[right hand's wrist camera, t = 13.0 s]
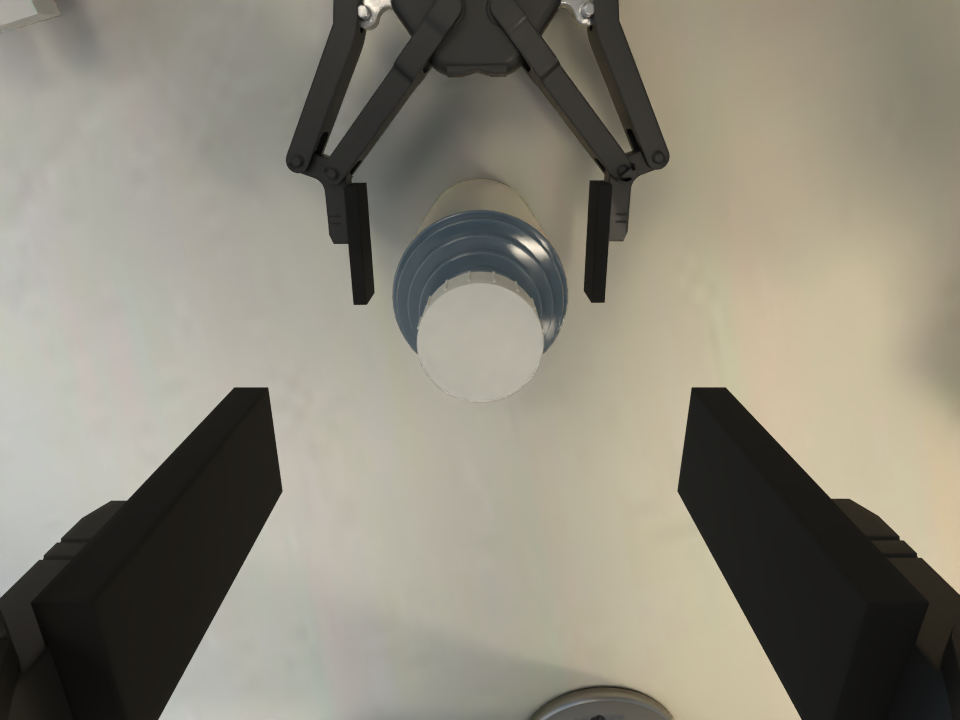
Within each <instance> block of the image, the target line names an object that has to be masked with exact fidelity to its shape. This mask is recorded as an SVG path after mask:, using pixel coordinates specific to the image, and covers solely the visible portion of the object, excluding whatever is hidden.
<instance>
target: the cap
mask: <svg viewBox="0 0 960 720" xmlns="http://www.w3.org/2000/svg"><path fill="white" fill-rule="evenodd" d="M417 329H418V334H417V352H418V356H419V360H420V363H421V365H422V367H423V369H424V371H425V373H426V374H427V376H428V377H429V378H430V380H431V381H432V382H433V383H434V384H435V385H436V386H437V387H438V388H440V389H441V390H442V391H444V392H445V393H447V394H449V395H451V396H453V397H455V398H458V399H461V400H464V401H469V402H479V403H480V402H491V401H496V400H500V399H503V398H505V397H508V396H510V395H512V394H514V393H515V392H517V391H518V390H520V389H521V388H522V387H523V386H524V385H526V384H527V383H528V382H529V380H530V379H531V378H532V377H533V375H534V374H535V372H536V370H537V369H538V366H539V364H540V362H541V358H542V355H543V348H544V337H543V332H544V329H543V326H542V322H541V319H539V317H538V314H537V311H536V307H535V304H534V301H533V298H530V297H529V295H528V294H527V293H526V292H525V290H524V289H522V288H521V287H520V286H519V285H518V284H517V282H516V281H515V282H514V281H512V280H510V279H509V278H507V277H505V276H502V275H499V274H496V273H495V272H492V273H491V272H471V271H468V273H465V274H462V275H458V276H456V277H454V278H452V279H450V280H448V279H447V280H446V281H445V283H444V284H443V285H441V286H440V287H439V288H438V289H437V290H436V291H435V292H434V293H433V295H432V296H429V298H428V301H427V305H426V307H425V309H424V312H423V315H422V317H420V320H419V323H418V326H417Z"/></svg>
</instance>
